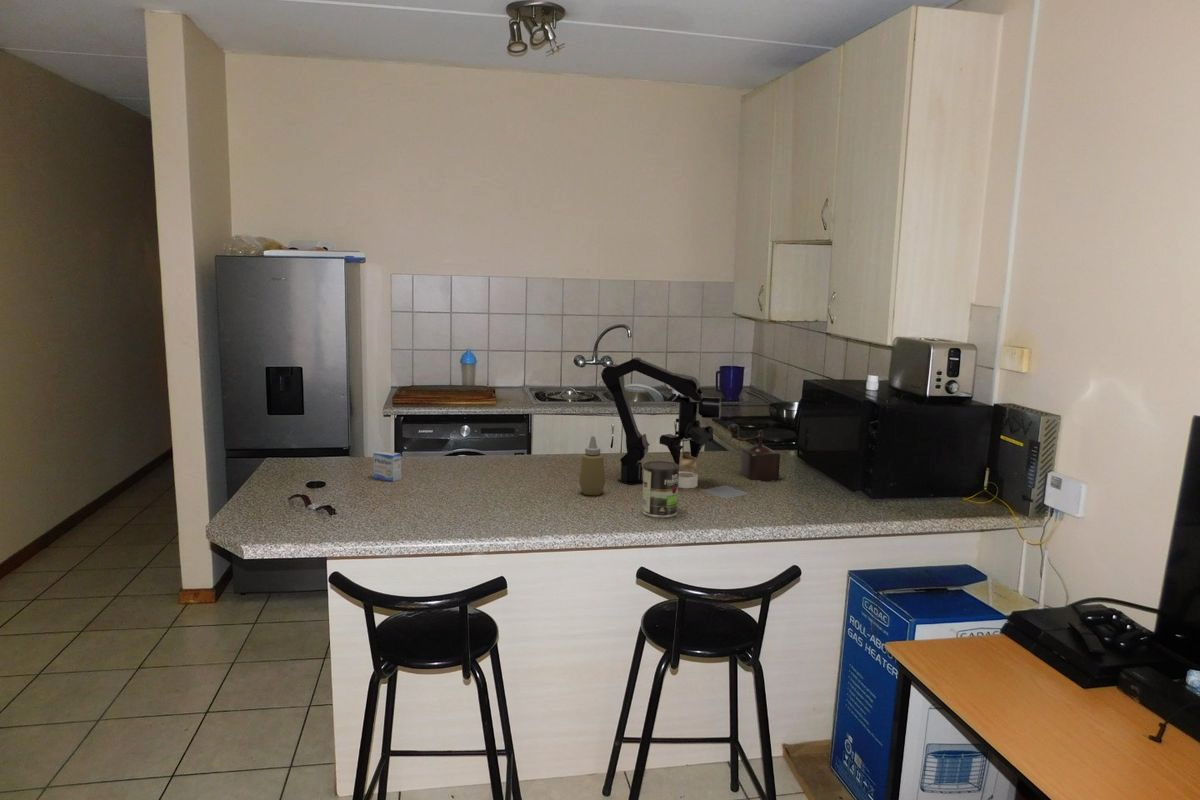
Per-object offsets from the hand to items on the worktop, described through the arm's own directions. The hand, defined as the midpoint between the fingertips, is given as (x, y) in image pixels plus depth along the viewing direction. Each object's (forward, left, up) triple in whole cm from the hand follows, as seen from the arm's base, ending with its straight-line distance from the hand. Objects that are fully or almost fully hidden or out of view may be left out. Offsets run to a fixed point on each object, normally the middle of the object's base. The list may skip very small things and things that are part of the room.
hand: (685, 464), depth 256 cm
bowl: (0, 0, -8) cm, 8 cm away
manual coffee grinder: (+27, -4, -8) cm, 28 cm away
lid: (0, 0, -1) cm, 1 cm away
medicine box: (-76, +59, -8) cm, 96 cm away
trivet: (+5, -13, -7) cm, 16 cm away
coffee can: (-25, -16, -8) cm, 31 cm away
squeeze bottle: (-30, +10, -8) cm, 32 cm away
